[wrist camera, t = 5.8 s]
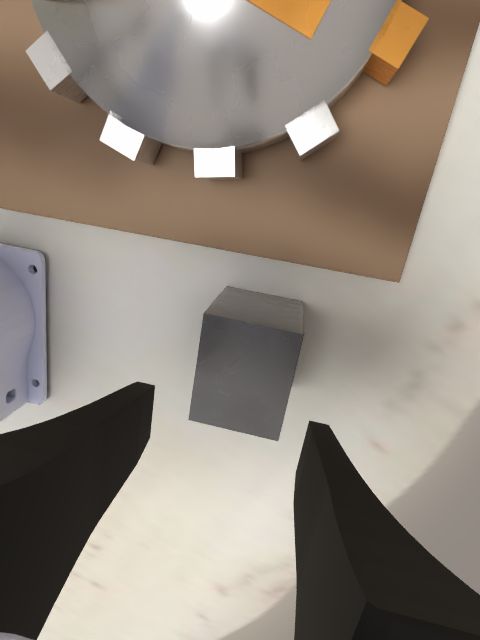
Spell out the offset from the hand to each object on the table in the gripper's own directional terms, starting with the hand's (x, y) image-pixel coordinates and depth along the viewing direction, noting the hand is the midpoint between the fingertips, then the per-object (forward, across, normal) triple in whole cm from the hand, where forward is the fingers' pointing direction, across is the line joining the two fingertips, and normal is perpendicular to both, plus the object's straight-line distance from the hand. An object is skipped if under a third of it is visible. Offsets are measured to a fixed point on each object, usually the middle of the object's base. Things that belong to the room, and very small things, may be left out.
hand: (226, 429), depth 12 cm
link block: (+8, 0, 0) cm, 8 cm away
